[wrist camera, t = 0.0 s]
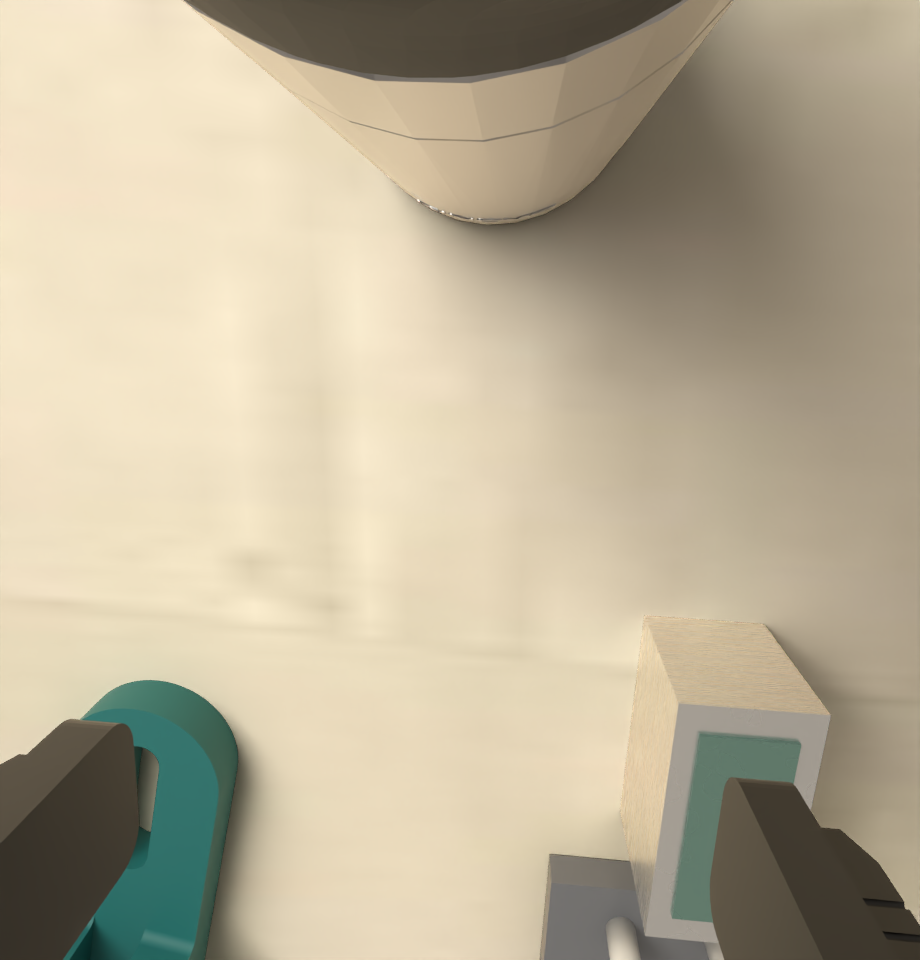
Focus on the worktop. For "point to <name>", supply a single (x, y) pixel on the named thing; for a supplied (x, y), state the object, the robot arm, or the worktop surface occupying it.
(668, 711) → the block
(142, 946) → the bracket
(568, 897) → the grey wall plate
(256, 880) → the worktop surface
